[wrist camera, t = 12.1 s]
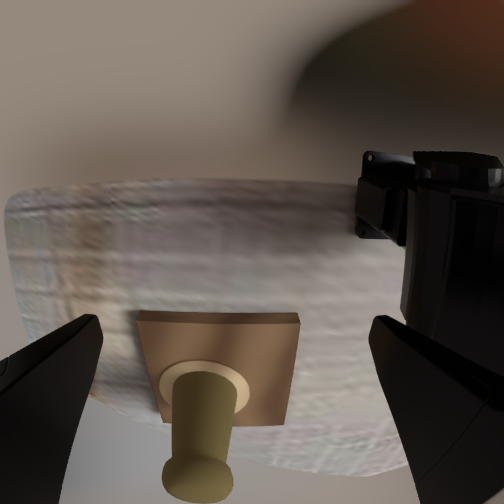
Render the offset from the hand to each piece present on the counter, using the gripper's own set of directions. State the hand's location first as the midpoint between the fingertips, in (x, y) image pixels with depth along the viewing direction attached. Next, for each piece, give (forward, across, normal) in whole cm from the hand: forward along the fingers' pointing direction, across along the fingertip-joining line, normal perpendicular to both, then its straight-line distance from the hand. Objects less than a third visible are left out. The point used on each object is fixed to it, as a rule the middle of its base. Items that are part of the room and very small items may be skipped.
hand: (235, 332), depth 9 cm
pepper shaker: (+11, +3, +16) cm, 20 cm away
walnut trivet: (+13, +2, +15) cm, 20 cm away
